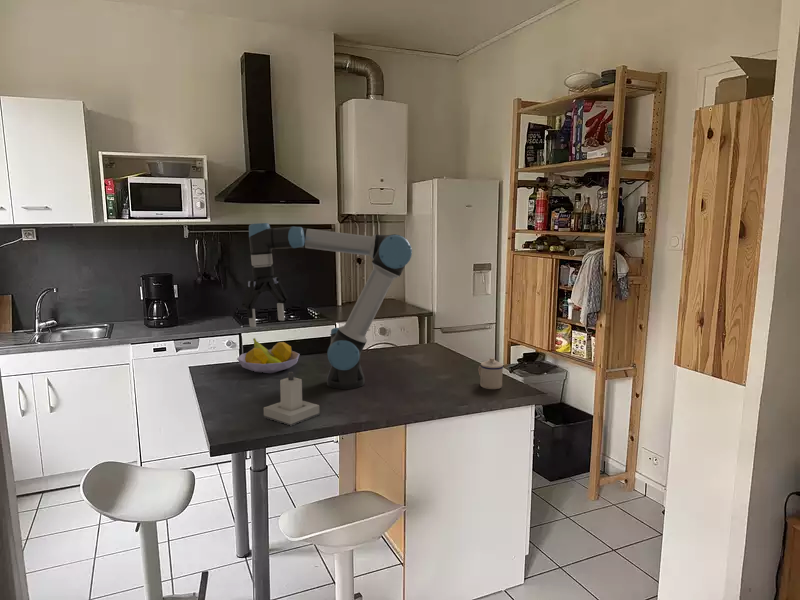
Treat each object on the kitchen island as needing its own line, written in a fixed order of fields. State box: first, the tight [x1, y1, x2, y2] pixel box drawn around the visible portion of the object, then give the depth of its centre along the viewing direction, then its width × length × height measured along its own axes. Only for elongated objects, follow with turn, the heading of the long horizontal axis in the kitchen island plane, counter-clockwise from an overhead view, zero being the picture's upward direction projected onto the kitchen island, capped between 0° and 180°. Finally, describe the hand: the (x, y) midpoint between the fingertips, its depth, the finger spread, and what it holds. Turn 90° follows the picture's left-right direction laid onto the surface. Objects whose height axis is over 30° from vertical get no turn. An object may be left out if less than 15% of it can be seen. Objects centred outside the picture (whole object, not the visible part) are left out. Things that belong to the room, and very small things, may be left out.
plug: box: [279, 371, 303, 411], centre depth 183 cm, size 5×5×14 cm
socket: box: [263, 400, 320, 427], centre depth 185 cm, size 17×13×4 cm
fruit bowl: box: [237, 337, 301, 374], centre depth 242 cm, size 28×27×11 cm
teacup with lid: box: [477, 357, 504, 390], centre depth 220 cm, size 12×9×12 cm
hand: (267, 323), depth 202 cm, fingers open, 13 cm apart
